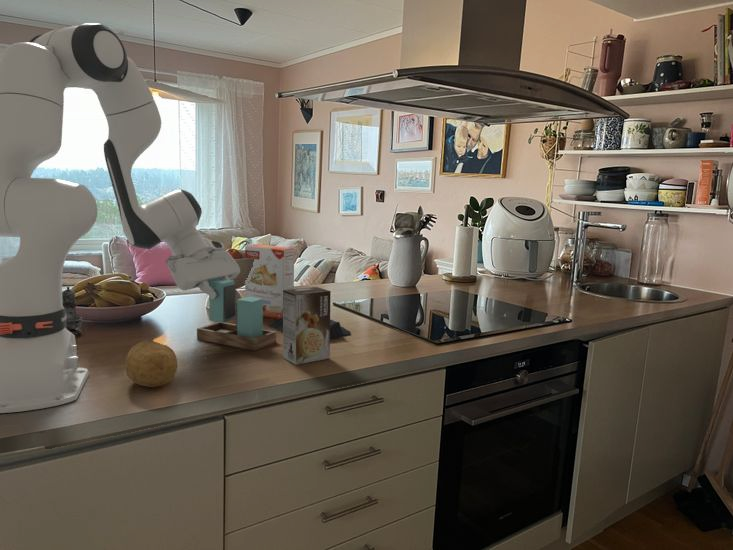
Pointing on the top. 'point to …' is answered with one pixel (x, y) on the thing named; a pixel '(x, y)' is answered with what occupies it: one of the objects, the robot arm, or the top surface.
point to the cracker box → (270, 276)
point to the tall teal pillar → (222, 301)
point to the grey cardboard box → (306, 324)
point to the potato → (151, 364)
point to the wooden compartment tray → (234, 336)
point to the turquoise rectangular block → (249, 317)
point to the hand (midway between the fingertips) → (223, 295)
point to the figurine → (71, 311)
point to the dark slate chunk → (334, 328)
